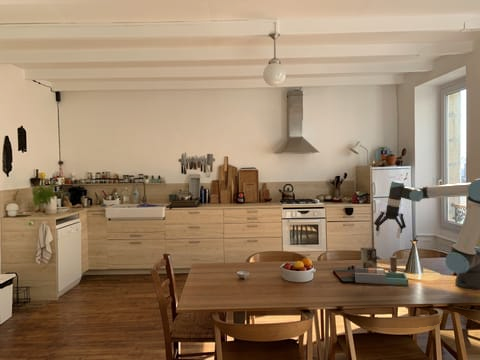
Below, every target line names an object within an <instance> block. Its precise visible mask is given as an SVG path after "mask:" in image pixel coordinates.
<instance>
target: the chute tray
mask: <svg viewBox="0 0 480 360" xmlns="http://www.w3.org/2000/svg"><path fill="white" fill-rule="evenodd" d="M385 274H386V281H387V284H386V285H395V286H396V285H397V286H409V278H408V275H406V273H405V272H396V273H392V272H391V271H390V272H389V271H388V272H387V271H385Z"/></svg>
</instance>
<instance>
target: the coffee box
mask: <svg viewBox="0 0 480 360" xmlns="http://www.w3.org/2000/svg"><path fill="white" fill-rule="evenodd" d="M377 257H378V256H377V249H376V248H375V247H373V246H372V247H370V246H369V247H360V262H361V266H360V268H375V269H377V268H378V265H377V264H378V263H377V261H378V260H377Z"/></svg>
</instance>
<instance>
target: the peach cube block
mask: <svg viewBox="0 0 480 360" xmlns="http://www.w3.org/2000/svg"><path fill="white" fill-rule="evenodd" d="M368 274H375V268H368Z"/></svg>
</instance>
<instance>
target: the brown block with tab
mask: <svg viewBox="0 0 480 360" xmlns="http://www.w3.org/2000/svg"><path fill="white" fill-rule="evenodd" d="M389 262H390V263H389V264H390V267H389V268H390V272H392V273H397V272H398V270H397V269H398V264H397V256H396V255H392V256H391V255H390V256H389Z"/></svg>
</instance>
